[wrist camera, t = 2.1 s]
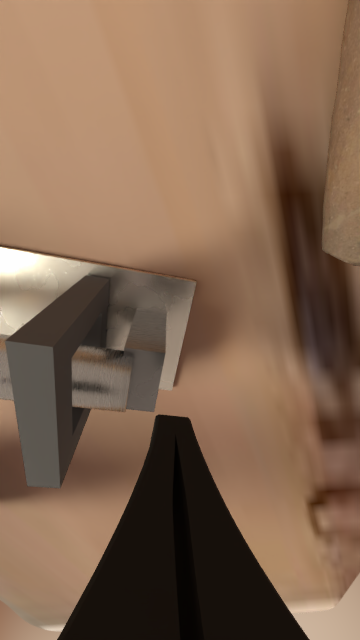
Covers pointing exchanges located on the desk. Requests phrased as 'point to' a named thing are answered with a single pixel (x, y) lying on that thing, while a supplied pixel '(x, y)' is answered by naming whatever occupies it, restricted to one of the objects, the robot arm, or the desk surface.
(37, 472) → the collar
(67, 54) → the desk surface
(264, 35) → the desk surface
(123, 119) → the desk surface
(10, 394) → the rail
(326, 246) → the pipe
